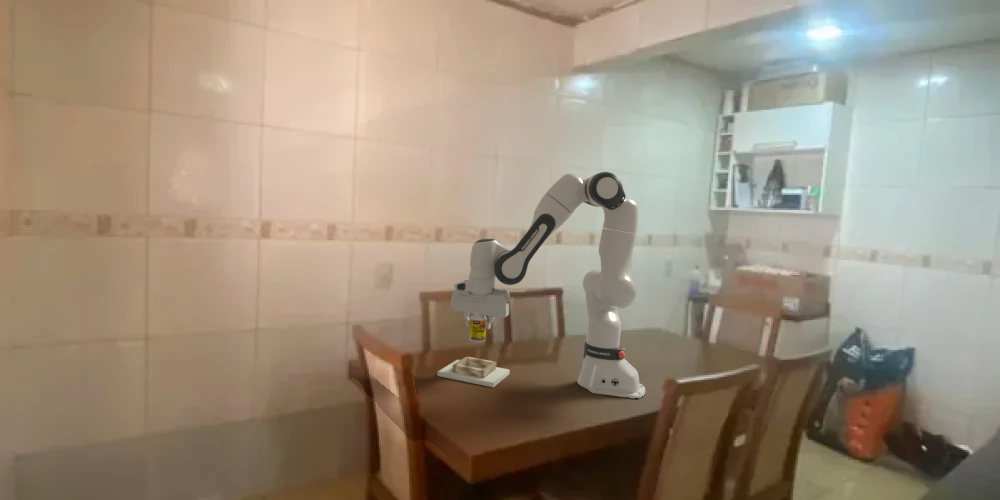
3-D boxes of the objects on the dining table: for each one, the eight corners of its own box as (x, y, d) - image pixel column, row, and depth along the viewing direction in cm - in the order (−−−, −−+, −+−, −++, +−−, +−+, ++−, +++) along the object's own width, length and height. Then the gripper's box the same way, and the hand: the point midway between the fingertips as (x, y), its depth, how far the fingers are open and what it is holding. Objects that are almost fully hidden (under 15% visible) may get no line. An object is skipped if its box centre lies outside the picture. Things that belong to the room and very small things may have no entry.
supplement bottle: (469, 342, 178) (471, 312, 177) (468, 338, 184) (470, 308, 183) (486, 343, 179) (488, 312, 178) (484, 338, 184) (486, 309, 183)
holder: (509, 373, 186) (510, 362, 186) (493, 387, 171) (494, 375, 171) (457, 363, 193) (458, 352, 193) (437, 375, 178) (438, 364, 178)
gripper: (513, 289, 179) (510, 330, 180) (457, 281, 186) (454, 320, 187) (507, 291, 173) (503, 333, 174) (450, 283, 180) (446, 324, 181)
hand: (477, 327), depth 181 cm, fingers closed on supplement bottle, 5 cm apart
